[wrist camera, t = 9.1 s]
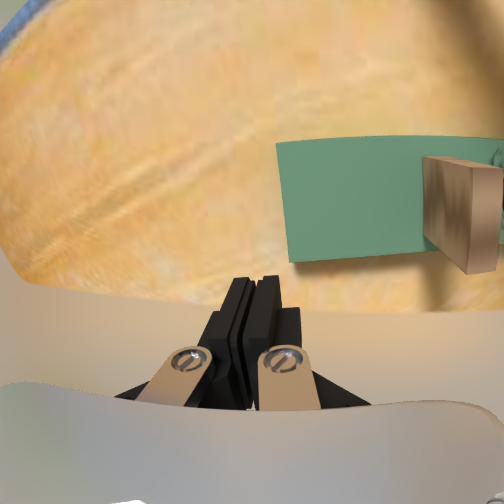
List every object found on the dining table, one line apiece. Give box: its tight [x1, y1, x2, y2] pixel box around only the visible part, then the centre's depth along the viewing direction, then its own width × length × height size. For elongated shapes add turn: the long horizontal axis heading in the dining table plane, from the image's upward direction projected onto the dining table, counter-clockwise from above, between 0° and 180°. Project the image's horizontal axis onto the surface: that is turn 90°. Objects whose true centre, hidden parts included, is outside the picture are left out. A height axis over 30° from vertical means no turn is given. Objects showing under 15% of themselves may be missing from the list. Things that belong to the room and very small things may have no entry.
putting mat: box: [276, 136, 504, 263], centre depth 29 cm, size 12×34×3 cm, turn 97°
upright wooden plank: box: [422, 156, 503, 275], centre depth 23 cm, size 8×4×10 cm, turn 8°
